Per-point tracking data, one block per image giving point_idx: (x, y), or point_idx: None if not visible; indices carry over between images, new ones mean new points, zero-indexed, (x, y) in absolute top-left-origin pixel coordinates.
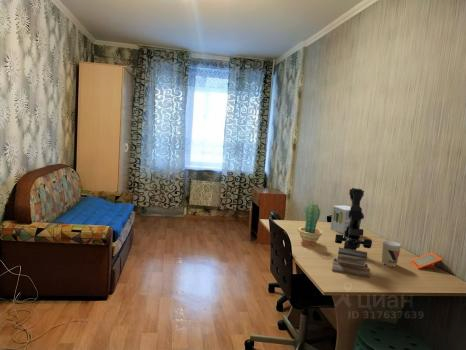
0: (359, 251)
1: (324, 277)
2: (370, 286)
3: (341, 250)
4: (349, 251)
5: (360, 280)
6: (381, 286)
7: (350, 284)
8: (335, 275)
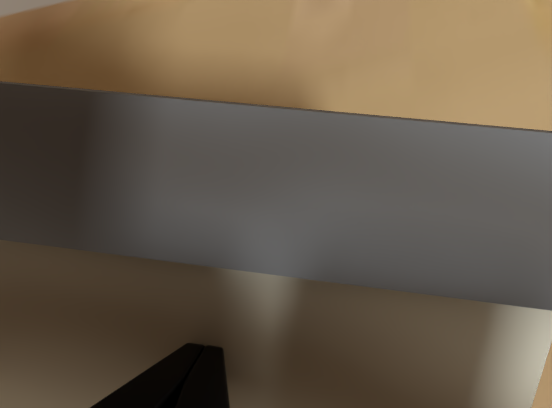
0: (41, 89)
1: (503, 48)
2: (157, 21)
3: (509, 127)
4: (305, 109)
5: (205, 87)
6: (67, 44)
7: (303, 7)
8: (418, 110)
